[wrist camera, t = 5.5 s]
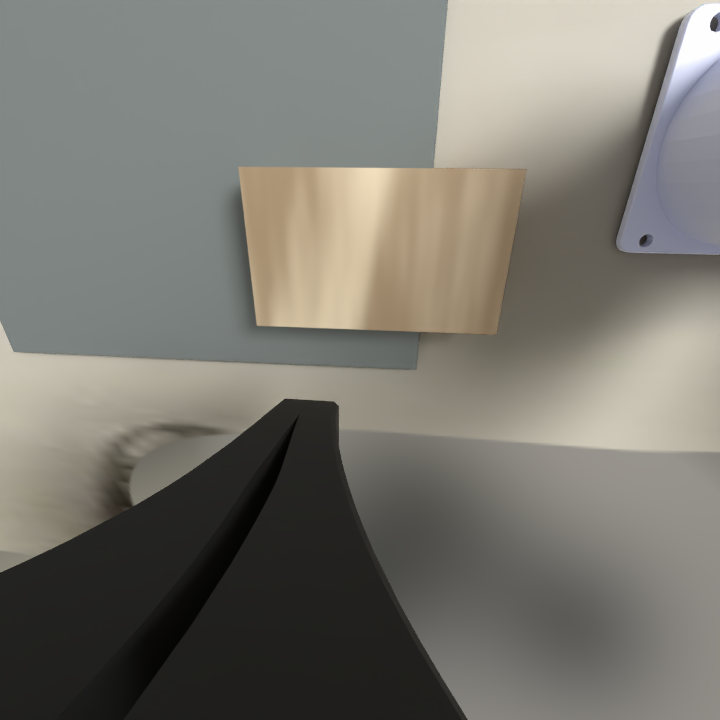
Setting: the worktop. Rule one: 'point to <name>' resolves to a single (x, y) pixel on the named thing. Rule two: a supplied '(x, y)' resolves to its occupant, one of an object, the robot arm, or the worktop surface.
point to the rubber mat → (191, 162)
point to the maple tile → (380, 246)
